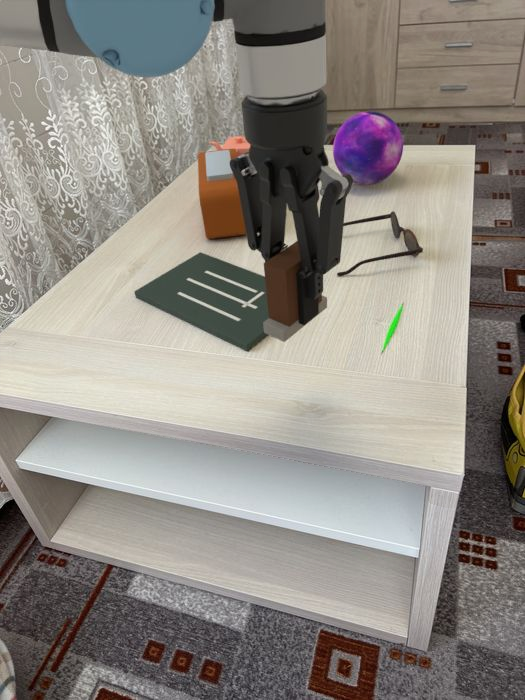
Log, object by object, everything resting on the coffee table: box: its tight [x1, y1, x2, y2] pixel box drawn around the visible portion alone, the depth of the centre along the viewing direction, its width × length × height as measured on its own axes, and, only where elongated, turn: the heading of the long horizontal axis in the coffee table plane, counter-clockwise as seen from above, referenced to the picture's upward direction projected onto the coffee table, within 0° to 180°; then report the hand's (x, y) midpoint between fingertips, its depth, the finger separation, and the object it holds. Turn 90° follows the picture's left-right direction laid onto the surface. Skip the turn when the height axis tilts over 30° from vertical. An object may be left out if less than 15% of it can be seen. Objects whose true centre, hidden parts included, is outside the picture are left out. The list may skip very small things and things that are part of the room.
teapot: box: [208, 135, 250, 157], centre depth 133 cm, size 12×15×8 cm
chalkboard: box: [133, 252, 269, 352], centre depth 92 cm, size 26×16×1 cm, turn 50°
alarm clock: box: [197, 149, 246, 240], centre depth 114 cm, size 24×8×11 cm, turn 6°
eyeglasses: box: [336, 211, 424, 277], centre depth 99 cm, size 15×15×5 cm
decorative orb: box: [332, 110, 404, 186], centre depth 120 cm, size 15×15×15 cm
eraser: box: [263, 240, 328, 343], centre depth 61 cm, size 8×3×8 cm, turn 139°
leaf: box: [380, 302, 404, 355], centre depth 83 cm, size 1×14×1 cm, turn 156°
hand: (295, 312), depth 63 cm, fingers closed on eraser, 3 cm apart
